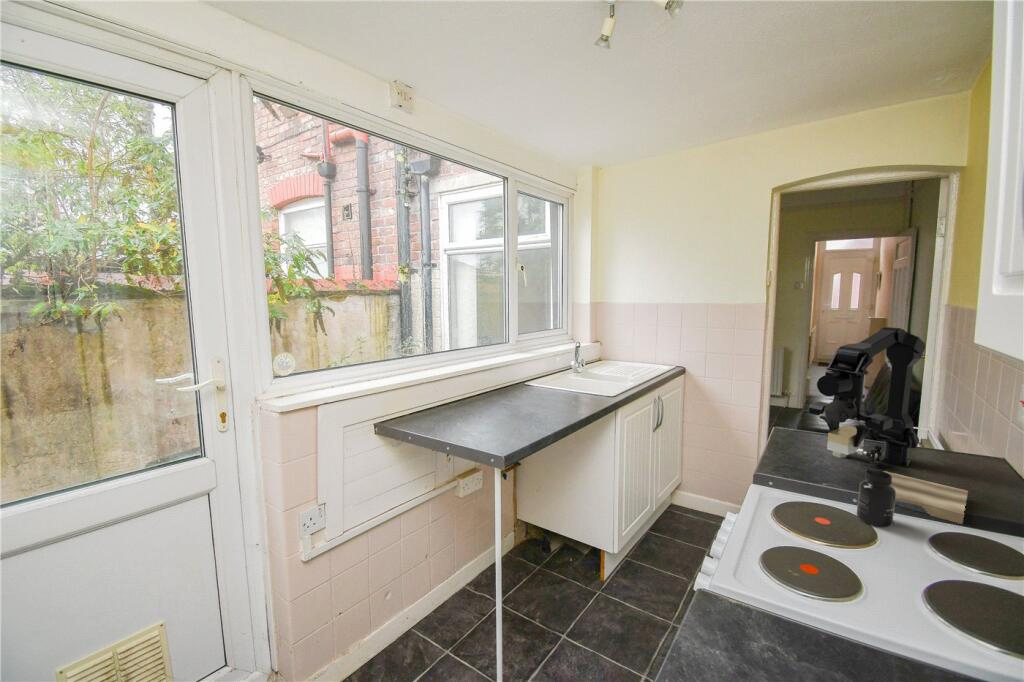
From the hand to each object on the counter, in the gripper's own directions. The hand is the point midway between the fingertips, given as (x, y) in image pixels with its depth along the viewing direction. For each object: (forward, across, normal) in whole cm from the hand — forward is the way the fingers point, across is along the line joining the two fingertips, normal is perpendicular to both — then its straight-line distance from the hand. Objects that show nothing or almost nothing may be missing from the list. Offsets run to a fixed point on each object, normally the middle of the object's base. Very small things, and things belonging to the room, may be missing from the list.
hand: (845, 443), depth 126 cm
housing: (+1, 0, 0) cm, 1 cm away
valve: (+11, -5, +17) cm, 21 cm away
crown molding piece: (+11, +16, +4) cm, 20 cm away
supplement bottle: (+11, +15, -17) cm, 25 cm away
